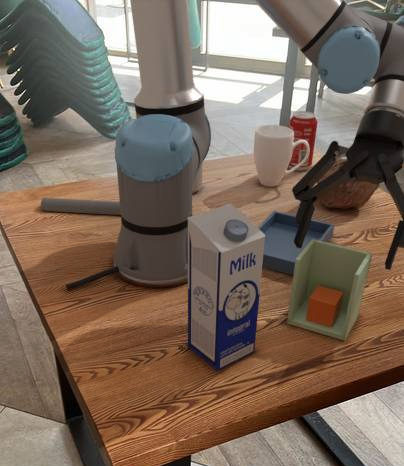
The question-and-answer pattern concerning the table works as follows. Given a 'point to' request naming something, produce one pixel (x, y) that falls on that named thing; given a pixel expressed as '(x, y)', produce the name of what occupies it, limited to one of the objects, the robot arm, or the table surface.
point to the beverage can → (303, 138)
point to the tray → (288, 240)
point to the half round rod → (81, 206)
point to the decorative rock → (347, 191)
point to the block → (324, 306)
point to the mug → (274, 153)
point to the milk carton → (223, 284)
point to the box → (329, 284)
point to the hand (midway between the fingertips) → (341, 255)
